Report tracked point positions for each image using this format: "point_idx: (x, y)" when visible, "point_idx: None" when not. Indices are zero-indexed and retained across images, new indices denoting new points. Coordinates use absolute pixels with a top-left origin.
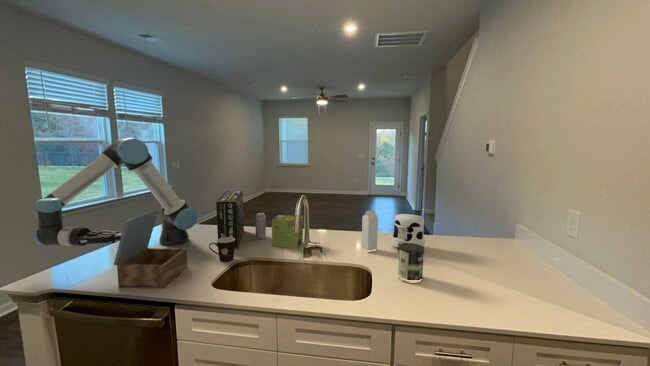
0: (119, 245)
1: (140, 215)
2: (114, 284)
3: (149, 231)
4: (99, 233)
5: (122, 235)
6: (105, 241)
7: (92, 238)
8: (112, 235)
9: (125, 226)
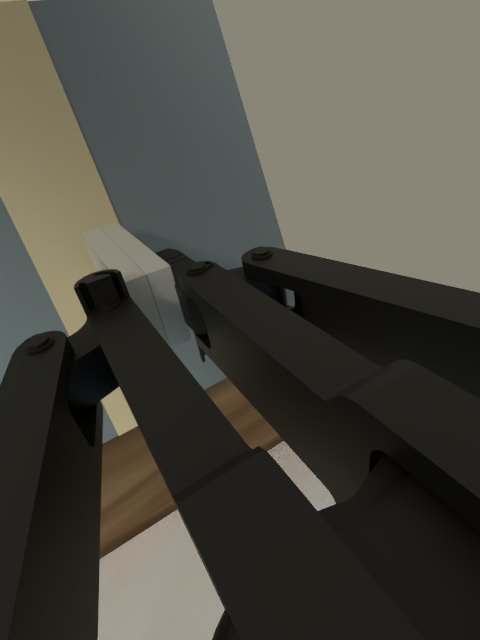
0: (268, 200)
1: (9, 7)
2: (309, 475)
3: None
4: (283, 491)
5: (244, 121)
6: (297, 306)
7: (457, 302)
8: (204, 263)
9: (218, 44)
